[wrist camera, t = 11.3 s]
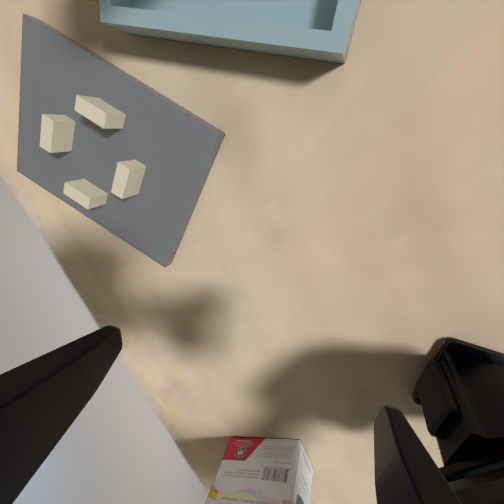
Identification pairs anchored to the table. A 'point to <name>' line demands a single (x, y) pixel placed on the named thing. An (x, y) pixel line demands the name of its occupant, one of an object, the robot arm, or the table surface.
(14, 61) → the table surface
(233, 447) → the ink box
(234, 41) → the tray
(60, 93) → the board
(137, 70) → the table surface
